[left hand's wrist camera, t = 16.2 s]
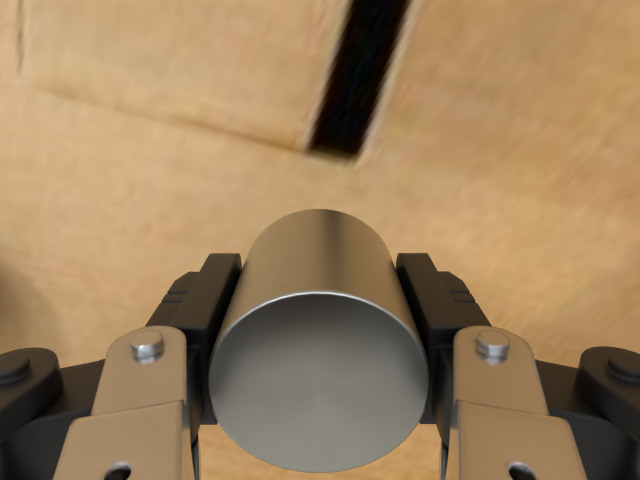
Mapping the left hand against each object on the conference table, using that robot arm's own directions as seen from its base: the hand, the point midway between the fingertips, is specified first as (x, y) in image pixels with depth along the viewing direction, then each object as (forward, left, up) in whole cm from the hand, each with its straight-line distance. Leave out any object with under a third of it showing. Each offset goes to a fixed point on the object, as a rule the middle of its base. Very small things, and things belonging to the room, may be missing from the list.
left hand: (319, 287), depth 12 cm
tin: (0, 0, 0) cm, 0 cm away
